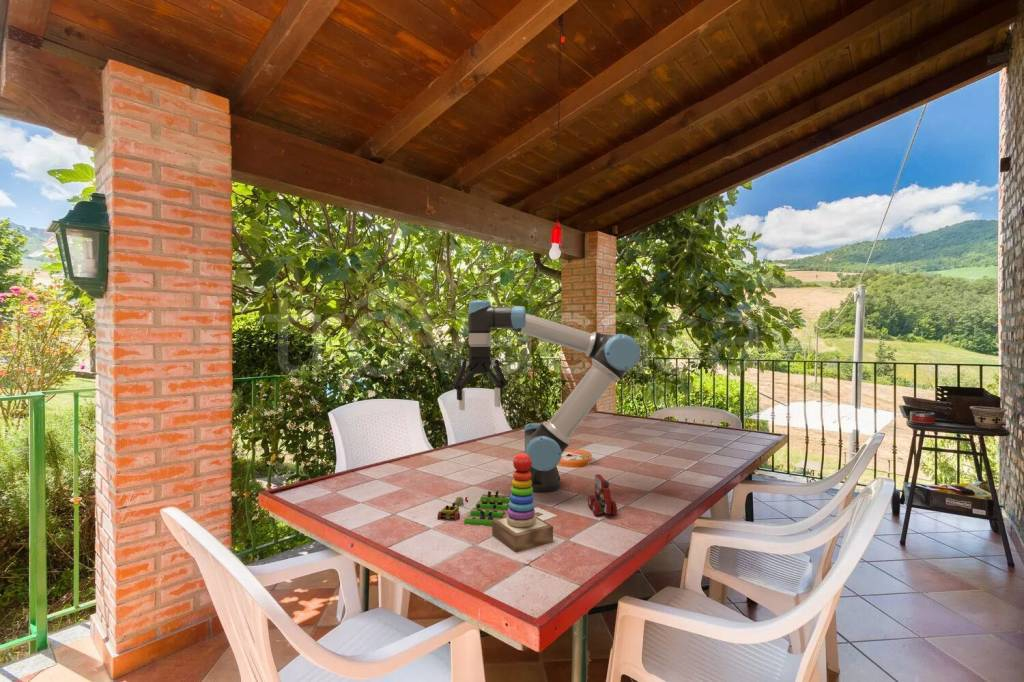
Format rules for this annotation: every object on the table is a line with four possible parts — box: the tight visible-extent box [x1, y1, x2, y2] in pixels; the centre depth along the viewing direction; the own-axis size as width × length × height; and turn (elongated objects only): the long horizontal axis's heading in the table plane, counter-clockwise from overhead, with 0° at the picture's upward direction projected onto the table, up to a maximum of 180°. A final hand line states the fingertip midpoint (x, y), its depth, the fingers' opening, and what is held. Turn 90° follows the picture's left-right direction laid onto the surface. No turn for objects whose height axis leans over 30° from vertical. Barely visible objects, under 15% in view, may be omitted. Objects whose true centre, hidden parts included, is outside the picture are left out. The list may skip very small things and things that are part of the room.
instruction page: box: [534, 507, 558, 522], centre depth 142 cm, size 12×9×1 cm
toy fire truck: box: [587, 473, 618, 516], centre depth 146 cm, size 7×12×10 cm, turn 5°
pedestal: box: [491, 516, 554, 553], centre depth 126 cm, size 12×12×4 cm
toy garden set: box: [436, 490, 511, 527], centre depth 147 cm, size 23×19×5 cm
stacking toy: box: [506, 452, 536, 527], centre depth 126 cm, size 8×8×19 cm
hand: (480, 408), depth 158 cm, fingers open, 13 cm apart
